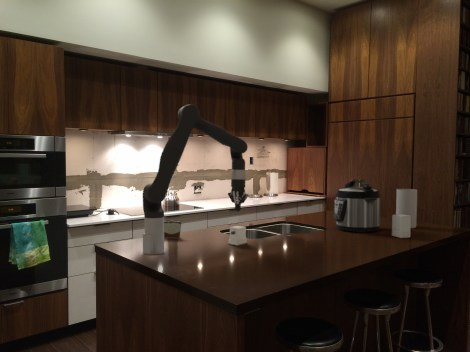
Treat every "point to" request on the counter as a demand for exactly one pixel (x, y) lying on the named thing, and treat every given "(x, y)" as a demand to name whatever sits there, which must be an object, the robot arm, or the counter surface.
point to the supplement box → (401, 225)
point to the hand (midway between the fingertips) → (237, 211)
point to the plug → (237, 232)
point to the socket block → (237, 242)
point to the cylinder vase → (407, 204)
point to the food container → (172, 228)
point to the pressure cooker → (357, 208)
